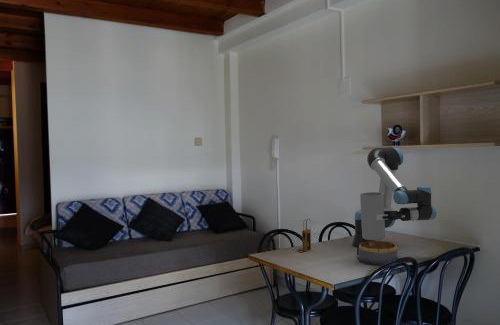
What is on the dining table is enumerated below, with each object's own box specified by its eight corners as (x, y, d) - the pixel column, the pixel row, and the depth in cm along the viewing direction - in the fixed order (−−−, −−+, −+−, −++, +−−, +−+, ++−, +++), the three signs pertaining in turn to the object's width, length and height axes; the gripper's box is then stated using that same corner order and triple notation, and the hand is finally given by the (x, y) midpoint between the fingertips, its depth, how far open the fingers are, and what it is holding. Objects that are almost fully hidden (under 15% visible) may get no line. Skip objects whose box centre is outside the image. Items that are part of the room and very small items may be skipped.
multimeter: (299, 246, 287) (298, 216, 287) (313, 248, 282) (312, 217, 281) (289, 251, 275) (288, 219, 274) (304, 253, 269) (303, 220, 269)
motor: (347, 258, 253) (347, 243, 253) (373, 253, 264) (373, 238, 264) (379, 267, 233) (379, 251, 233) (405, 261, 244) (405, 245, 243)
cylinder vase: (389, 239, 242) (387, 194, 240) (367, 241, 240) (365, 196, 238) (379, 234, 254) (377, 191, 252) (358, 236, 252) (356, 193, 250)
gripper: (418, 224, 236) (380, 226, 234) (398, 217, 261) (363, 219, 258) (418, 210, 236) (380, 212, 234) (398, 205, 260) (363, 206, 258)
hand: (371, 215), depth 246 cm, fingers closed on cylinder vase, 12 cm apart
